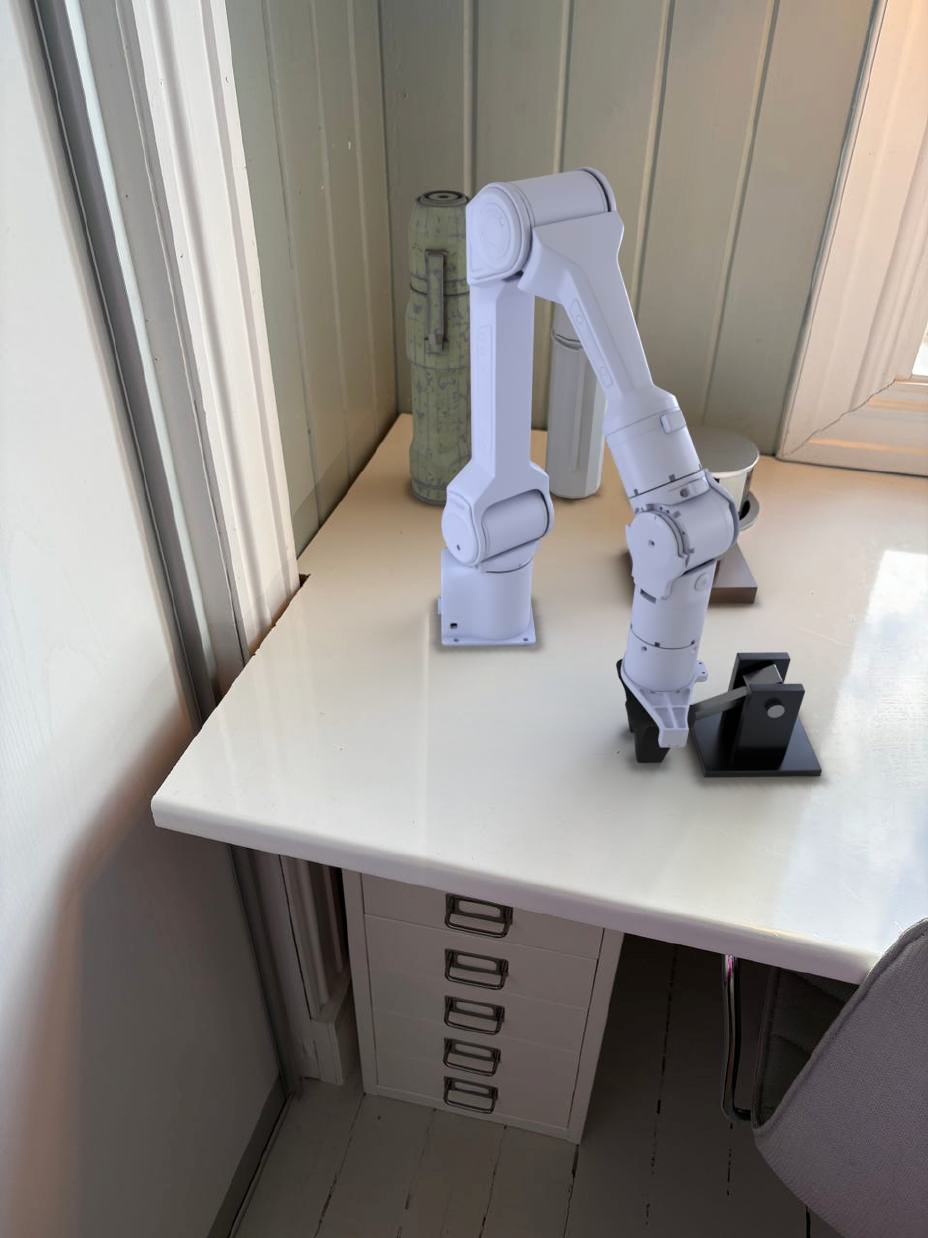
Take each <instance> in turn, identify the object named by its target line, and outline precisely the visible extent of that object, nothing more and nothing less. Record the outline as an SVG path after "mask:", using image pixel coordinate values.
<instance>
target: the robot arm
mask: <svg viewBox="0 0 928 1238" xmlns="http://www.w3.org/2000/svg"><path fill="white" fill-rule="evenodd" d="M471 199H472V200H471V201H470V202H469V203H468V204H467V206H466V259H467V283H468V284H469V285H470V355H471V440H472V458H471V460H470V461H469V463H468V464H467V465H466V466H465V467H464V468H463V469H462V470H461V471H460V472H459V474H458V475H457V476H456V477H455V478H454V479H453V480H452V481H451V482H450V484H449V485H448V486H447V502H446V506H444V509H443V511H442V514H441V522H440V523H441V524H440V525H441V533H442V538H443V540H444V542H445V543H444V544H445V545H446V547H442V548H440V596H437V614H438V615H440V616H441V618H440V620H441V621H440V622H441V623H440V624H441V644H442V645H443V646H447V647H448V646H452V647H453V646H456V647H457V646H459V647H460V646H533V645H535V644H536V643H537V642H536V641H537V638H536V629H535V622H534V616H533V607H532V583H533V569H534V567H533V566H534V554H535V553H536V552H538V551H539V550H540V549H541V539H542V538H545V537H547V536H548V535H549V534H550V533H551V532H552V530H553V527H554V522H555V509H554V504H553V501H552V498H551V493H550V491H549V476H548V475H547V474H546V472H545V469H543V468H542V467H541V466H539V465H538V464H537V463H535V462H534V461H533V460H531V443H532V442H531V441H532V440H531V439H532V438H531V435H532V406H533V405H532V404H533V403H532V402H533V372H534V371H533V369H534V334H535V333H534V332H535V331H534V330H535V302H536V300H535V298H536V297H539V298H542V299H545V300H547V301H550V302H554V303H556V304H557V303H559V304H561V305H563V306H564V308H565V310H566V312H567V314H568V317H569V319H570V321H571V323H572V325H573V327H574V329H575V331H576V334H577V336H578V338H579V340H580V342H581V344H582V346H583V348H584V351H585V353H586V355H587V357H588V359H589V361H590V363H591V365H592V368H593V370H594V372H595V374H596V376H597V378H598V380H599V382H600V385H601V387H602V389H603V391H604V393H605V395H606V397H607V399H608V402H609V405H608V409H607V412H606V415H605V418H604V420H603V423H602V430H603V433H604V436H605V442H606V443H607V447H608V449H609V451H610V454H611V457H612V459H613V462H614V464H615V466H616V470H617V472H618V474H619V478H620V480H621V483H622V485H623V488H624V491H625V494H626V496H627V498H628V501H629V503H630V507H631V510H632V511H633V515H634V518H633V520H632V521H631V522H630V523H629V524H628V523H626V524H625V528H624V529H625V530H624V532H625V533H624V534H625V541H626V545H627V548H629V551H630V553H631V556H632V560H633V569H632V570H631V576H632V577H633V583H634V592H633V599H632V605H631V613H630V619H629V627H628V634H627V641H626V646H625V647H626V648H625V651H624V655H623V657H622V658H619V660H617V661H616V664H615V668H616V671H617V676H618V679H619V681H620V683H621V684H622V687H623V690H624V693H625V700H626V701H625V702H624V706H625V711H626V715H627V722H628V728H629V732H630V733H633V735H634V754H635V759H636V762H637V763H638V764H661V763H663V761H664V759H665V758H666V757H667V755H668V753H669V751H670V749H671V748H672V749H673V748H685V747H686V746H687V742H688V741H687V740H688V735H689V732H690V728H691V727H693V726H694V724H695V721H696V713H695V710H694V707H693V705H692V704H691V700H692V696H693V692H694V687H695V684H696V683H703V682H706V681H707V680H708V676H709V671H708V667H707V665H706V664H705V662H704V661H702V660H700V659H699V660H698V655H699V650H700V645H701V640H702V635H703V631H704V625H705V621H706V617H707V611H708V608H709V607H708V606H709V604H708V602H709V597H710V592H711V587H712V582H713V577H714V573H715V568H716V563H717V560H716V559H714V558H715V557H717V556H719V555H721V554H723V553H724V552H725V551H727V550H729V549H730V548H731V547H732V546H733V545H734V544H735V543H736V541H737V542H738V538H739V536H740V529H741V525H740V523H741V522H740V516H739V512H738V509H737V503H736V500H735V499H734V497H733V496H732V494H731V493H730V492H729V491H728V490H727V489H726V488H725V487H724V486H723V485H721V484H720V483H719V482H717V481H716V480H715V478H714V476H713V473H712V472H710V471H709V469H708V468H703V466H702V463H701V462H700V461H701V460H700V459H699V456H698V453H697V450H696V447H695V445H694V442H693V440H692V437H691V435H690V432H689V429H688V426H687V422H686V419H685V416H684V415H683V414H684V413H683V412H682V410H681V407H680V405H679V402H678V400H677V397H676V396H675V395H674V394H672V393H671V392H668V391H667V390H664V389H663V388H661V387H659V386H658V385H656V384H654V381H653V378H652V375H651V371H650V368H649V364H648V361H647V357H646V354H645V351H644V347H643V344H642V341H641V337H640V333H639V331H638V327H637V323H636V320H635V316H634V313H633V308H632V306H631V303H630V298H629V295H628V292H627V288H626V285H625V282H624V277H623V275H622V271H621V267H620V265H619V259H618V257H619V251H620V248H621V244H622V241H623V237H624V231H625V225H624V222H623V220H622V218H621V216H620V214H619V212H618V210H617V203H616V198H615V194H614V191H613V189H612V187H611V184H610V183H609V181H608V179H607V178H606V176H605V175H604V174H603V173H601V172H600V171H599V170H598V169H596V168H593V167H590V166H581V167H576V168H574V169H573V170H569V171H563V172H558V173H553V174H546V175H542V176H535V177H529V178H524V179H519V180H514V181H513V180H512V181H507V182H504V181H495V182H490V183H488V184H486V185H485V186H483V187H482V188H481V189H480V190H479V191H478V192H477V193H476V194H475V196H474V197H473V198H471ZM535 296H536V297H535Z"/></svg>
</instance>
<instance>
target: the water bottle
mask: <svg viewBox="0 0 928 1238" xmlns="http://www.w3.org/2000/svg"><path fill="white" fill-rule="evenodd" d="M555 305H556V306H555V312H554V317H553V323H552V328H551V329H550V338H551V339H552V341H553V343H552V345H553V346H552V357H551V370H550V371H551V373H550V387H549V403H548V418H547V430H546V431H547V433H546V446H545V447H546V448H545V459H544V461H545V462H544V471H545V472H546V474H547V475H548V476H549V493H550V494H551V493H552V494H553V495H554V496H556V497H559V498H564V499H570V500H578V499H585V498H588V497H590V496H592V495H594V494H595V493H596V492H597V491H598V489H599V487H600V486H601V480H602V479H601V478H602V471H603V463H604V455H605V454H604V452H605V445H606V438H605V436H604V433H603V430H602V423H603V420H604V418H605V415H606V412H607V409H608V405H609V402H608V399H607V397H606V395H605V393H604V391H603V389H602V387H601V385H600V382H599V380H598V378H597V376H596V374H595V372H594V370H593V368H592V365H591V363H590V361H589V359H588V357H587V355H586V353H585V351H584V348H583V346H582V344H581V342H580V340H579V338H578V336H577V334H576V331H575V329H574V327H573V325H572V323H571V321H570V319H569V317H568V314H567V312H566V310H565V308H564V306H563V305H561V304H559V303H556V304H555Z"/></svg>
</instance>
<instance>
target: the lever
mask: <svg viewBox="0 0 928 1238" xmlns="http://www.w3.org/2000/svg"><path fill="white" fill-rule="evenodd" d="M743 677H744V680H745V683H746V685H747V686H743V687H740V688H737V689H734V690H732V691H729V692H728V691H726V692H724V693H720V694H719V695H718V694H717V695H715V696H711V697H709V698H707V699H703V700H700V701H698V702H695V703H692V704H691V705H693V707H694V710H695V713H696V721H697V720H699V719H702V718H705V717H708V716H711V715H714V714H717V713H720V712H722V711H725V710H728V709H731V708H734V707H737V706H740V705H742V704H744V702H745V698H746V695H747V691H748V687H749V684H783V681H782V679H781V677H780V674H779V672H778V670H777V667H776V665H775V664H773V665H771V666H768V667H765V668H762V669H759V670H757V671H754V672H751V673H748V674H745V675H743Z"/></svg>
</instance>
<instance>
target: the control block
mask: <svg viewBox="0 0 928 1238" xmlns="http://www.w3.org/2000/svg"><path fill="white" fill-rule="evenodd" d="M627 548H628V547H627ZM627 555H628V558H629V561H630V565H631V568H632V569H633V560H632V556H631V553H630V551H629V548H628V549H627ZM714 559H716V560H717V563H716V568H715V573H714V577H713V582H712V587H711V592H710V597H709V602H708V605H712V604H714V605H716V604H718V605H719V604H720V605H721V604H722V605H723V604H725V605H726V604H728V605H729V604H731V605H732V604H755V600H756V597H757V593H758V588H759V587H758V584H757V581H756V580H755V578H754V576H753V574H752V571H751V569H750V567H749V565H748V563H747V560H746V558H745V556H744V554H743V552H742V550H741V548H740V545H739V544H738V540H737V541H736V543H735V544H734V545H733V546H732V547H731V548H730V549H729V550H727V551H725V552H724V553H723V554H721V555H719V556H717V557H715V558H714Z"/></svg>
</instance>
